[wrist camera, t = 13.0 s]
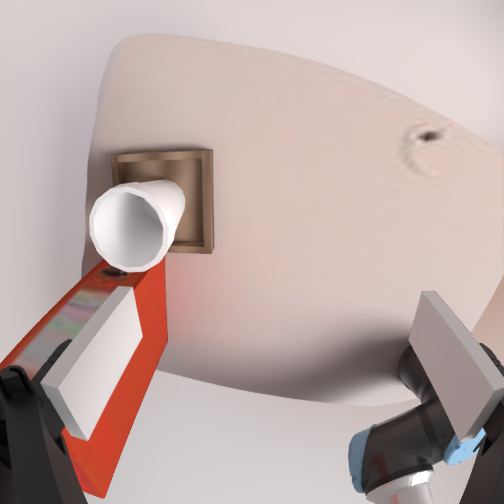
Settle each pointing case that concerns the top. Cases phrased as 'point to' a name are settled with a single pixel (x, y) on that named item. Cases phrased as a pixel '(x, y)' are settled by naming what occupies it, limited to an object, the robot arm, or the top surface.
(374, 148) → the top surface
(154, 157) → the square wooden tray
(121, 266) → the foam cup
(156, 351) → the file binder
